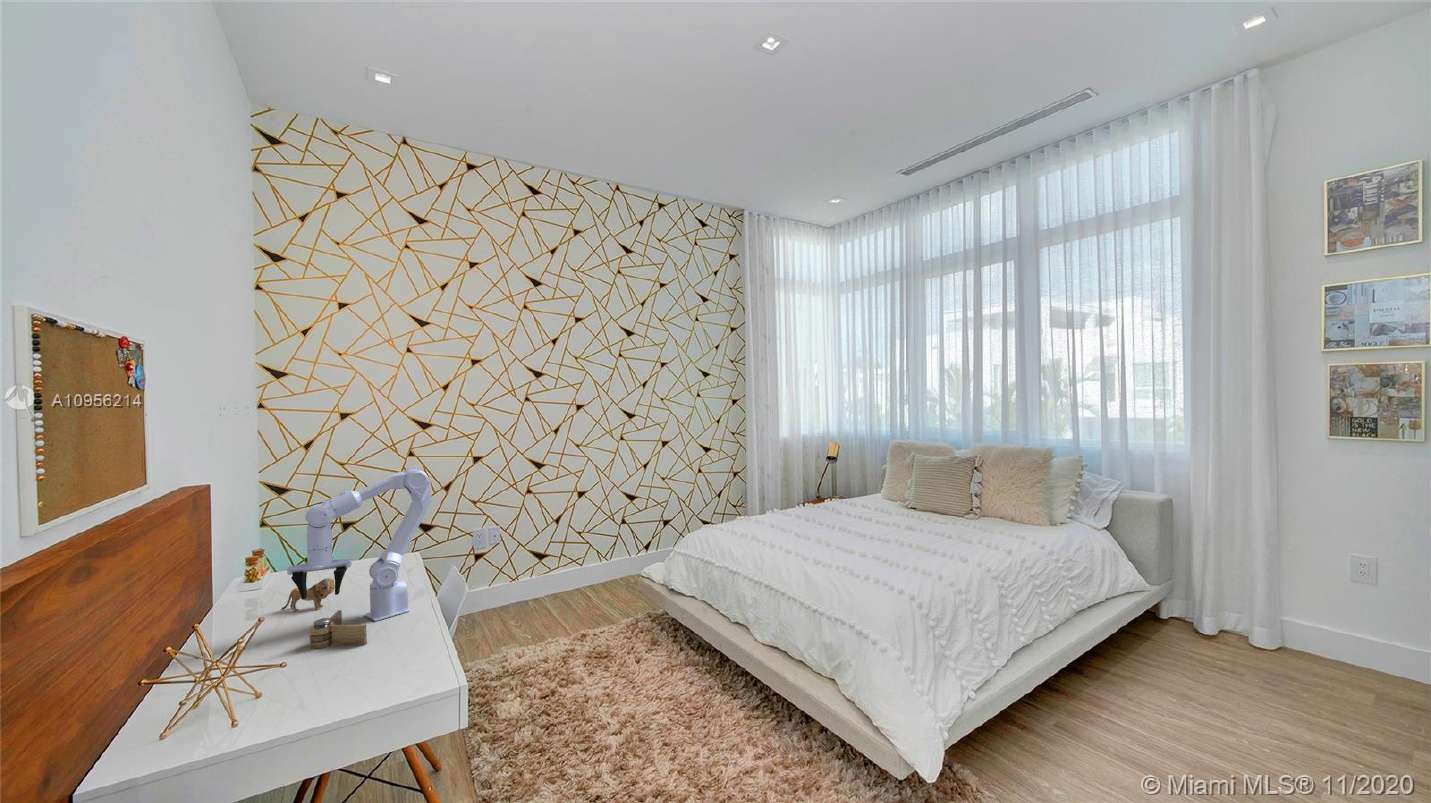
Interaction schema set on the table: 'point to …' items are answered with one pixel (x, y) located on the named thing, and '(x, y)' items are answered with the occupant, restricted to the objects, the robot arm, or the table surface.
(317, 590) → the lion figurine
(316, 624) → the hinge pin
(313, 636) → the leaf
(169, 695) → the table surface
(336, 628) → the tan hinge leaf
